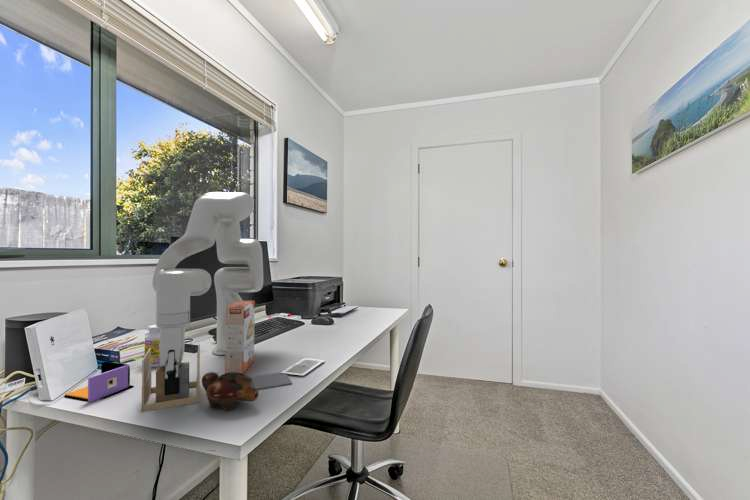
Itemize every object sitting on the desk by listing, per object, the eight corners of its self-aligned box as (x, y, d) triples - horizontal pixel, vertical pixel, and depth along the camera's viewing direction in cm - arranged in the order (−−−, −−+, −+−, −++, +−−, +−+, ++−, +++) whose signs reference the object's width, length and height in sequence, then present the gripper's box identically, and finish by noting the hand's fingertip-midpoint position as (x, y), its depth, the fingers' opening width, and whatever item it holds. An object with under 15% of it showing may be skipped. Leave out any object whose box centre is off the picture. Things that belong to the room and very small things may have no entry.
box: (158, 396, 89) (158, 365, 89) (189, 391, 92) (189, 361, 92) (155, 404, 84) (155, 371, 84) (188, 399, 87) (188, 367, 87)
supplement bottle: (139, 368, 110) (139, 328, 110) (152, 361, 117) (152, 323, 117) (160, 367, 110) (161, 328, 111) (172, 361, 117) (172, 323, 117)
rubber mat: (250, 377, 102) (250, 376, 102) (285, 372, 106) (285, 371, 106) (254, 390, 93) (254, 388, 93) (291, 384, 97) (291, 382, 97)
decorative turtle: (214, 395, 90) (214, 365, 90) (268, 400, 87) (268, 368, 87) (187, 412, 80) (187, 378, 80) (246, 418, 77) (247, 383, 77)
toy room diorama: (136, 388, 95) (136, 363, 95) (89, 407, 83) (90, 379, 83) (104, 383, 98) (105, 359, 98) (55, 400, 87) (55, 373, 87)
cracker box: (244, 375, 104) (245, 306, 104) (224, 375, 104) (224, 306, 104) (255, 360, 118) (255, 299, 118) (237, 361, 118) (237, 300, 118)
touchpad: (325, 363, 117) (325, 357, 117) (303, 379, 102) (303, 371, 102) (304, 361, 119) (304, 354, 119) (280, 376, 105) (280, 369, 105)
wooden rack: (149, 393, 91) (149, 347, 91) (199, 385, 96) (199, 342, 96) (141, 412, 80) (141, 360, 80) (198, 402, 85) (198, 354, 85)
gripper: (160, 314, 94) (160, 380, 94) (151, 327, 79) (150, 406, 79) (191, 312, 97) (191, 376, 97) (188, 324, 82) (187, 400, 82)
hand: (173, 389), depth 88 cm, fingers closed on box, 5 cm apart
